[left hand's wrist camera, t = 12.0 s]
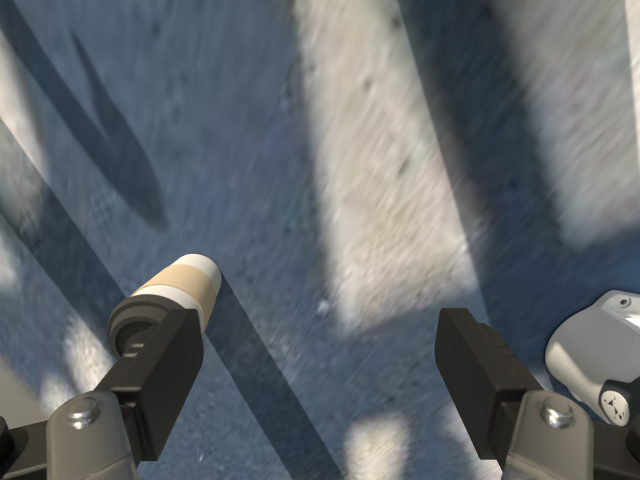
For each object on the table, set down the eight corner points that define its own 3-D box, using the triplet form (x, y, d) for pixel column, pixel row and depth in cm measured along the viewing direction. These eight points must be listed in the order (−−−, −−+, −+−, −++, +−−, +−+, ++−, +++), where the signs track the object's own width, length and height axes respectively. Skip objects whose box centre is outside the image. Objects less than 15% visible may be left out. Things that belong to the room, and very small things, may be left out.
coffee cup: (169, 307, 48) (107, 389, 34) (156, 247, 45) (81, 309, 31) (234, 305, 48) (198, 386, 34) (225, 245, 45) (182, 306, 31)
